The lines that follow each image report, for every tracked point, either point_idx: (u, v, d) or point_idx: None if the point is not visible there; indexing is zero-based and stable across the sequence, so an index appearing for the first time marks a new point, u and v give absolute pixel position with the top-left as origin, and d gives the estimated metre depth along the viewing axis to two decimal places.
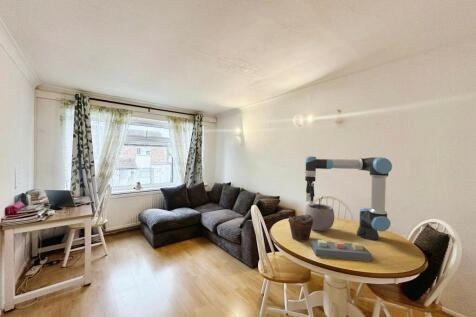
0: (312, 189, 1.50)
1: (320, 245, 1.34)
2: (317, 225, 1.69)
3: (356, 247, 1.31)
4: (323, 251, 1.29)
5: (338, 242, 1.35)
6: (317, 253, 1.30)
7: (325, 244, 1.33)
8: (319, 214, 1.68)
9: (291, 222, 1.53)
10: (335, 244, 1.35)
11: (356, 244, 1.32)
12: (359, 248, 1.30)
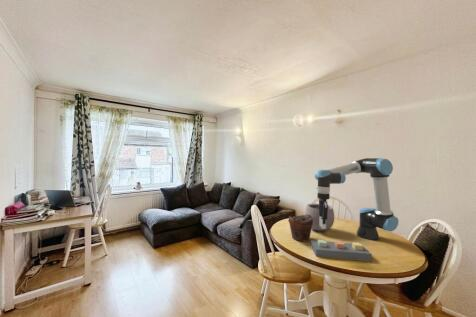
0: (325, 211, 1.30)
1: (320, 245, 1.34)
2: (317, 225, 1.69)
3: (356, 247, 1.31)
4: (323, 251, 1.29)
5: (338, 242, 1.35)
6: (317, 253, 1.30)
7: (325, 244, 1.33)
8: None
9: (291, 222, 1.53)
10: (335, 244, 1.35)
11: (356, 244, 1.32)
12: (359, 248, 1.30)
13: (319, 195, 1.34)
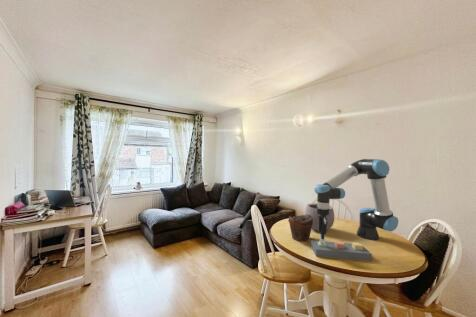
0: (324, 227, 1.31)
1: None
2: (317, 225, 1.69)
3: (356, 247, 1.31)
4: (323, 251, 1.29)
5: (338, 242, 1.35)
6: (317, 253, 1.30)
7: (325, 246, 1.33)
8: (319, 214, 1.68)
9: (291, 222, 1.53)
10: (335, 244, 1.35)
11: (356, 244, 1.32)
12: (359, 248, 1.30)
13: (319, 211, 1.34)
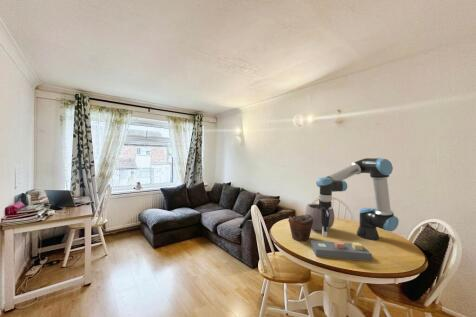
0: (327, 220, 1.31)
1: None
2: (317, 225, 1.69)
3: (356, 247, 1.31)
4: (323, 251, 1.29)
5: (338, 242, 1.35)
6: (317, 253, 1.30)
7: None
8: (319, 214, 1.68)
9: (291, 222, 1.53)
10: (335, 244, 1.35)
11: (356, 244, 1.32)
12: (359, 248, 1.30)
13: (321, 203, 1.34)
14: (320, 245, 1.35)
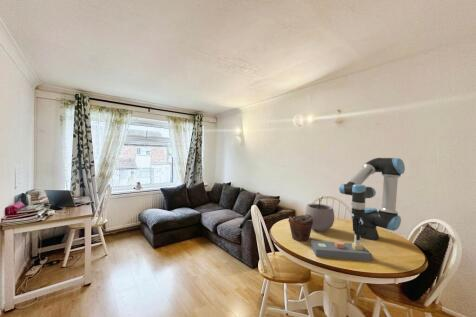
0: (361, 228, 1.28)
1: None
2: (317, 225, 1.69)
3: (356, 247, 1.31)
4: (323, 251, 1.29)
5: (338, 242, 1.35)
6: (317, 253, 1.30)
7: None
8: (319, 214, 1.68)
9: (291, 222, 1.53)
10: (335, 244, 1.35)
11: (356, 244, 1.32)
12: (359, 248, 1.30)
13: (354, 211, 1.31)
14: (320, 245, 1.35)
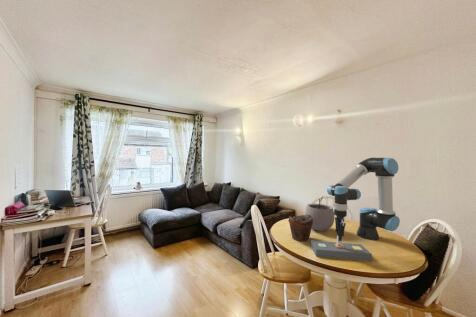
0: (342, 229, 1.30)
1: None
2: (317, 225, 1.69)
3: None
4: (323, 251, 1.29)
5: (338, 245, 1.35)
6: (317, 253, 1.30)
7: None
8: (319, 214, 1.68)
9: (291, 222, 1.53)
10: None
11: (356, 248, 1.32)
12: None
13: (336, 212, 1.33)
14: (320, 245, 1.35)
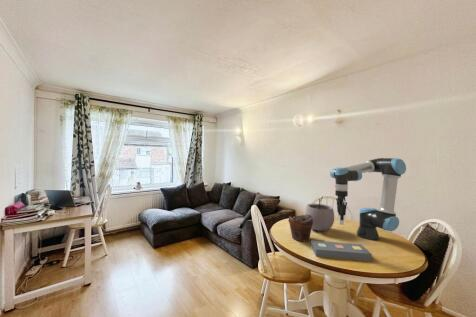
0: (344, 208, 1.34)
1: None
2: (317, 225, 1.69)
3: None
4: (323, 251, 1.29)
5: (338, 246, 1.35)
6: (317, 253, 1.30)
7: None
8: (319, 214, 1.68)
9: (291, 222, 1.53)
10: None
11: (356, 248, 1.32)
12: None
13: (337, 192, 1.37)
14: (320, 245, 1.35)
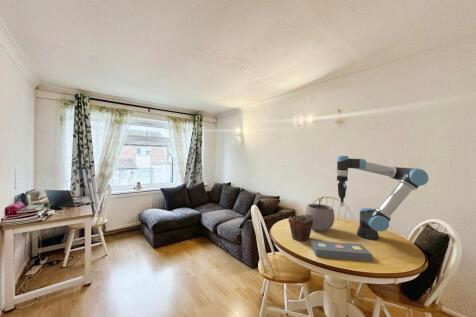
0: (344, 191, 1.52)
1: None
2: (317, 225, 1.69)
3: None
4: (323, 251, 1.29)
5: (338, 246, 1.35)
6: (317, 253, 1.30)
7: None
8: (319, 214, 1.68)
9: (291, 222, 1.53)
10: None
11: (356, 248, 1.32)
12: None
13: (338, 177, 1.55)
14: (320, 245, 1.35)
